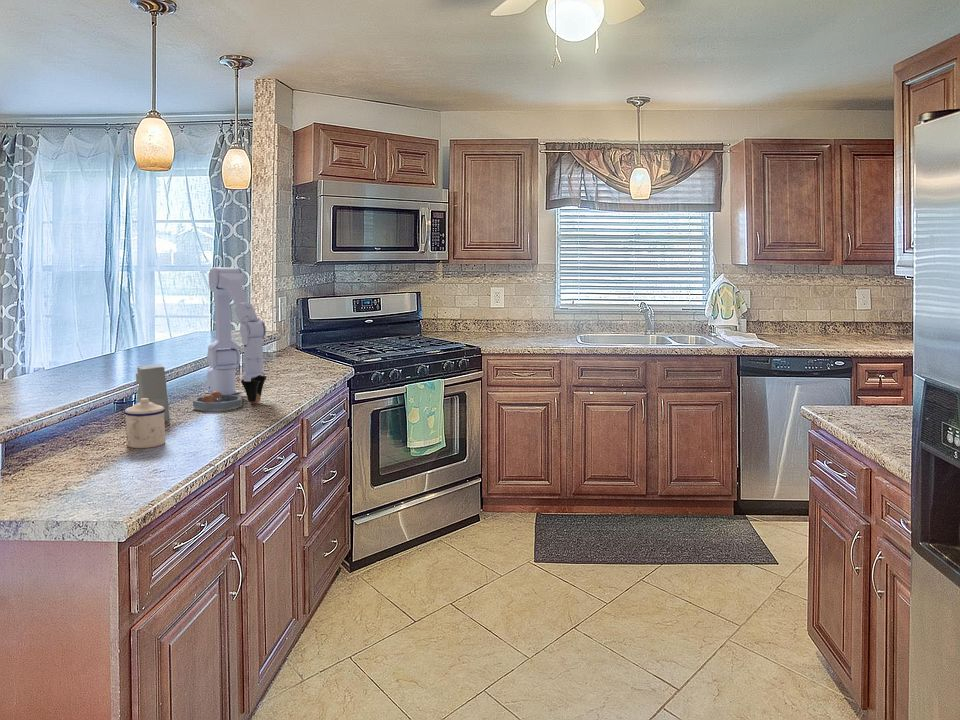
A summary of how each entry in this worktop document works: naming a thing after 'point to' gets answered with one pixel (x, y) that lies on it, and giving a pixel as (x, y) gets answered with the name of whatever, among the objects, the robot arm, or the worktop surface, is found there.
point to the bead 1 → (216, 394)
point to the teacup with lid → (145, 425)
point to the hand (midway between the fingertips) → (254, 399)
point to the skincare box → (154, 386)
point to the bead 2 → (256, 399)
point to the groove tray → (218, 403)
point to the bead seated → (208, 398)
